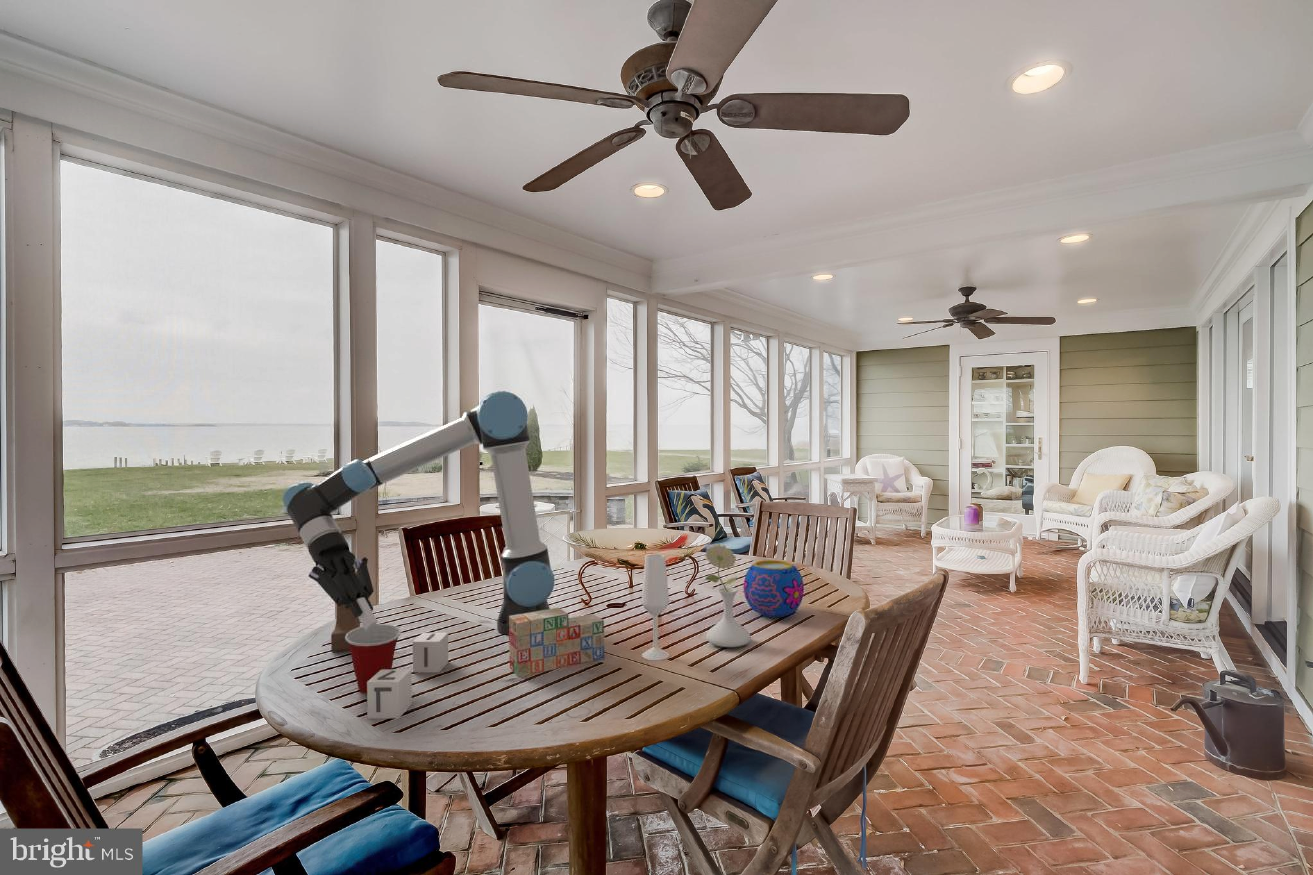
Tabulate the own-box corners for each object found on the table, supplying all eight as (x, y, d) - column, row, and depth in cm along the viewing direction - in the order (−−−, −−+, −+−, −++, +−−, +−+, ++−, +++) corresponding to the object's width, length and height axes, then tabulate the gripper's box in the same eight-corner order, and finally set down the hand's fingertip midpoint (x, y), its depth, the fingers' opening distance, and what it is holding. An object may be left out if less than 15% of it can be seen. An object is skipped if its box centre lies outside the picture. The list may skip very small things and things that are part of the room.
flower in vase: (759, 643, 155) (759, 545, 154) (733, 655, 146) (733, 551, 146) (718, 631, 163) (718, 539, 163) (691, 642, 155) (691, 545, 155)
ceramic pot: (812, 611, 181) (811, 561, 181) (793, 628, 166) (792, 573, 166) (757, 603, 190) (756, 555, 190) (734, 618, 175) (733, 566, 175)
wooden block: (350, 650, 151) (349, 578, 151) (330, 652, 150) (330, 579, 150) (360, 638, 160) (359, 570, 159) (341, 639, 159) (341, 571, 159)
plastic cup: (364, 704, 122) (363, 644, 121) (335, 691, 127) (334, 634, 127) (412, 684, 131) (411, 629, 130) (383, 672, 137) (382, 620, 136)
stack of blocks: (594, 650, 150) (593, 601, 150) (604, 659, 145) (604, 607, 145) (508, 668, 140) (508, 614, 139) (517, 677, 134) (516, 622, 134)
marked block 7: (411, 704, 121) (411, 668, 121) (398, 718, 115) (398, 681, 115) (381, 704, 121) (381, 668, 121) (367, 719, 115) (366, 681, 115)
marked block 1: (448, 662, 143) (448, 632, 143) (439, 672, 137) (438, 641, 137) (422, 662, 143) (422, 632, 143) (412, 672, 137) (412, 641, 137)
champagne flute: (655, 647, 151) (655, 552, 151) (675, 654, 147) (674, 556, 146) (636, 655, 147) (635, 556, 146) (655, 662, 142) (654, 560, 142)
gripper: (345, 547, 144) (390, 628, 136) (288, 556, 133) (334, 645, 124) (358, 526, 141) (406, 608, 133) (302, 534, 130) (350, 623, 122)
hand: (371, 626), depth 129 cm, fingers closed
